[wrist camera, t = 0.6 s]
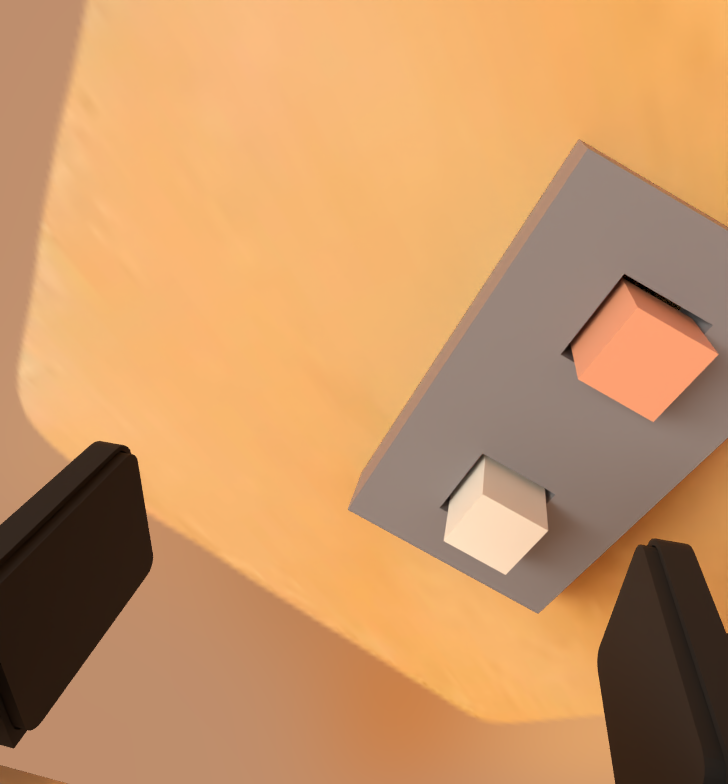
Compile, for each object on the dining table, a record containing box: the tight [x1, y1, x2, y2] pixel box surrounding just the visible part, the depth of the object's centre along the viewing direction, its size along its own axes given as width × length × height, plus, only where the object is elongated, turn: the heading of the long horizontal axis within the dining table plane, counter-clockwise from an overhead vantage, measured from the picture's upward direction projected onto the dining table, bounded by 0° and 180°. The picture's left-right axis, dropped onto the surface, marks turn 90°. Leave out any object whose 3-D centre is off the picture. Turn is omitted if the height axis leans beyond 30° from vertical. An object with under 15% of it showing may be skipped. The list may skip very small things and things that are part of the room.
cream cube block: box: [444, 454, 548, 575], centre depth 34 cm, size 4×4×4 cm
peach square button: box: [570, 278, 719, 422], centre depth 27 cm, size 4×4×4 cm
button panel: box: [348, 140, 728, 613], centre depth 33 cm, size 14×24×4 cm, turn 153°
